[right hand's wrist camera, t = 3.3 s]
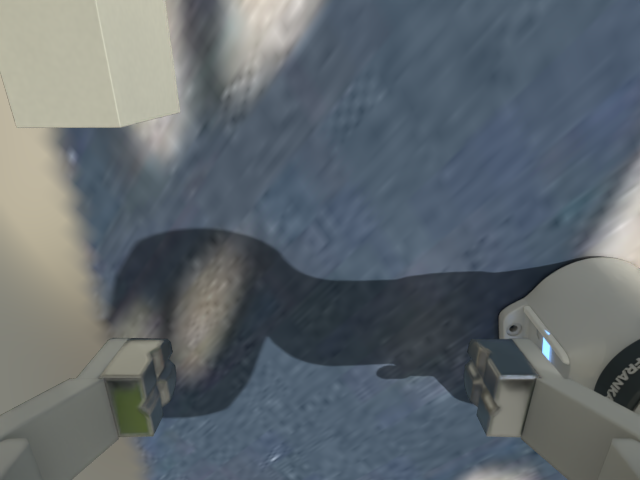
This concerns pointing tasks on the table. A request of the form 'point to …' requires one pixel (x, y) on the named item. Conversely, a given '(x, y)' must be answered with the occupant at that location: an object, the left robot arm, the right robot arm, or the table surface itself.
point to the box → (86, 62)
